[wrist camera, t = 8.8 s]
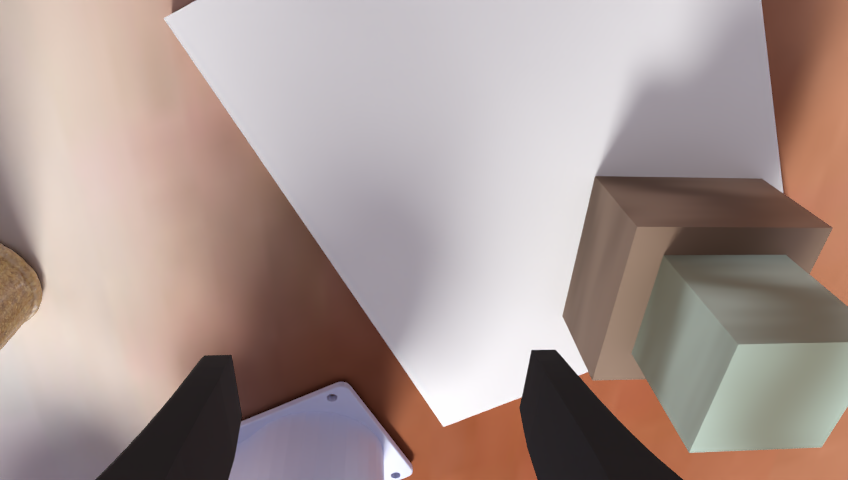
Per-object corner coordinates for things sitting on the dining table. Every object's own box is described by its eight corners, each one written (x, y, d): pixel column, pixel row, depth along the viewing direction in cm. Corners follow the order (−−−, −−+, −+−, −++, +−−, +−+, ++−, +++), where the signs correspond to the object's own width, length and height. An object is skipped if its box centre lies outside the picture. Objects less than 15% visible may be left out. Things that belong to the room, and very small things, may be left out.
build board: (441, 414, 29) (443, 426, 28) (171, 14, 18) (163, 18, 17) (783, 282, 26) (794, 293, 26) (711, -287, 15) (727, -296, 15)
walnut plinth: (562, 316, 25) (592, 380, 22) (594, 175, 22) (637, 226, 18) (706, 314, 26) (757, 376, 22) (761, 178, 22) (832, 228, 19)
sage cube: (631, 353, 21) (689, 452, 17) (663, 255, 19) (738, 344, 15) (741, 350, 22) (821, 447, 18) (785, 254, 19) (889, 341, 15)
